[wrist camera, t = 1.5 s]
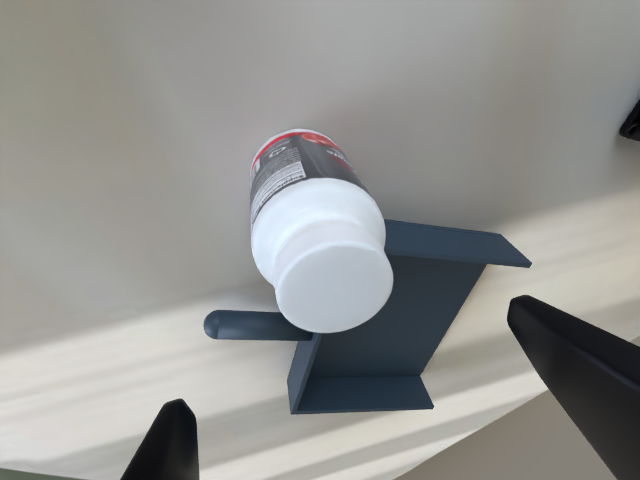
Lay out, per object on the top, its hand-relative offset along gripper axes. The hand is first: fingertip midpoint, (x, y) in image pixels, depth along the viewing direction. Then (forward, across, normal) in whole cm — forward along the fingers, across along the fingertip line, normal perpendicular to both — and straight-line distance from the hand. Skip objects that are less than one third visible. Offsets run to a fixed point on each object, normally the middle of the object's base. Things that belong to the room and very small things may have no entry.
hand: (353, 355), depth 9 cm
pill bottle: (+13, 0, 0) cm, 13 cm away
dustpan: (+12, -1, +12) cm, 17 cm away
